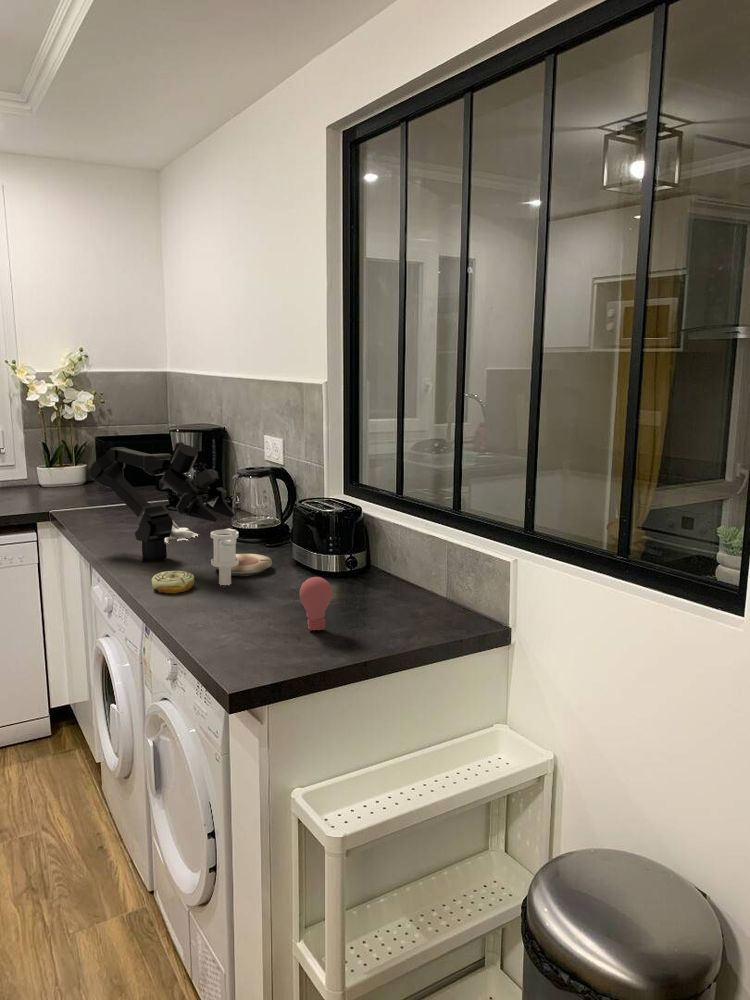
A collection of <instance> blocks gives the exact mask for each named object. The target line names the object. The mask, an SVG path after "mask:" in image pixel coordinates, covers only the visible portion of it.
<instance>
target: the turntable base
mask: <svg viewBox="0 0 750 1000" xmlns="http://www.w3.org/2000/svg"><path fill="white" fill-rule="evenodd" d="M264 571H265V569H264V570H260V571H254V572H231V576H233V575H234V576H235V577H247V576H246V575H250V576H255V574H256V575H259V574H262V573H263V572H264ZM261 572H262V573H261Z"/></svg>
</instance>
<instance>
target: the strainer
mask: <svg viewBox="0 0 750 1000" xmlns="http://www.w3.org/2000/svg"><path fill="white" fill-rule="evenodd" d="M210 538H211V539H213V541H212V543H213V557H212V558H211V559H210V565H211V566H213V567H214V566H215V567H219V569H218V585H219V584H220V585H219V586H221V585H228V586H231V585H232V575H231V567H233V566H236V565H238V564H239V559H238V558H236V554H237V553H236V551H237V549H236V546H237V545H236V544H237V539H238V538H239V531H238V530H237V529H233V528H225V529H216V530H212V531H210ZM215 567H214V568H215ZM230 584H231V585H230Z"/></svg>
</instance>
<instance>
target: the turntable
mask: <svg viewBox="0 0 750 1000" xmlns="http://www.w3.org/2000/svg"><path fill="white" fill-rule="evenodd" d="M236 558H238V559H239V564H238V565H236V566H233V567H231V572H254V571H260V570H264V571H265V570H267V569H268V568H270V567H271V566H272V564H273V563H272V559H271V558H270V557H269V556H267V555H262V554H258V553H257V554H256V553H236ZM213 568H215V569H217V570H219V567H215V566H213Z"/></svg>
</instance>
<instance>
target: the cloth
mask: <svg viewBox="0 0 750 1000" xmlns="http://www.w3.org/2000/svg"><path fill="white" fill-rule="evenodd" d="M198 535H199V534H198V533H195V532H193V531H191V530H190V529H189V528H188V527H179V526H178V524H177V523H175V522H174V521H173V526H172V530H171V534H170V537H167V538H165V542H167V543H168V542H170V541H171V540H173V539H174V540H175V539H176V540H177V541H176V542H183V541H182V540H186V541H189V540H188V539H190V538H191V537H193V538H196V537H195V536H197V537H199V536H198ZM172 538H173V539H172ZM177 538H178V539H177ZM186 538H188V539H186ZM169 540H170V541H169ZM168 544H169V543H168Z"/></svg>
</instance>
